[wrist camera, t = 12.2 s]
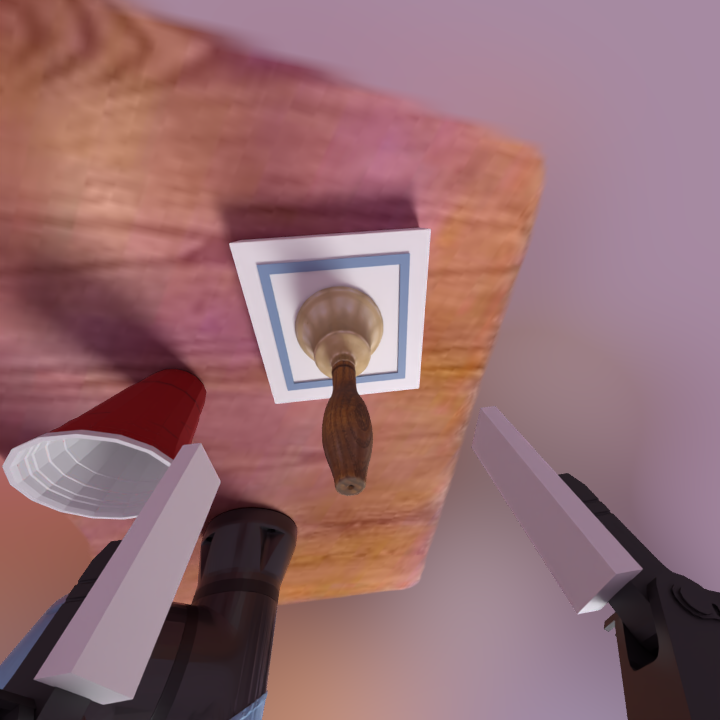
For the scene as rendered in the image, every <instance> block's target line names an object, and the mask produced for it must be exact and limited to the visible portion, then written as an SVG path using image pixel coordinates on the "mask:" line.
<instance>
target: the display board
mask: <svg viewBox="0 0 720 720" xmlns="http://www.w3.org/2000/svg"><path fill="white" fill-rule="evenodd" d="M430 234H431V229H427V228H406V229H392V230H378V231H363V232H349V233H335V234H320V235H306V236H292V237H277V238H263V239H249V240H239V241H236V242H232V243H229V245H230V248H231V252H232V255H233V259H234V262H235V266H236V269H237V273H238V276H239V280H240V283H241V286H242V290H243V293H244V297H245V300H246V304H247V307H248V311H249V314H250V318H251V321H252V325H253V328H254V332H255V335H256V338H257V342H258V345H259V349H260V352H261V356H262V359H263V363H264V366H265V370H266V373H267V377H268V380H269V383H270V387H271V390H272V394H273V397H274V401H275V404H279V403H288V402H298V401H307V400H316V399H325V398H330V397H331V395H332V392H333V384H332V378H329V377H327V376H326V375H324V374H323V373H322V372H321V371H320V370H319V369H318V367H317V366H316V364H315V361H313V360H312V359H311V358H309V357H308V356H307V355H306V354H305V353H304V351H303V350H302V348H301V347H300V345H299V343H298V341H297V337H296V332H295V322H296V317H297V314H298V312H299V310H300V308H301V306H302V305H303V304H304V302H305V301H306V300H307V299H308V298H309V297H310V296H312V295H313V294H314V293H316V292H318V291H320V290H322V289H326V288H329V287H335V286H344V287H350V288H354V289H357V290H359V291H361V292H363V293H364V294H366V295H367V296H369V297H370V298H371V299H372V300H373V301H374V302H375V304H376V305H377V306H378V308H379V310H380V312H381V315H382V319H383V335H382V339H381V342H380V344H379V346H378V347H377V349H376V350H375V352H374V353H373V354H372V355H371V358H370V362H369V364H368V366H367V367H366V369H365V370H364V371H363V372H362V373H361V374H360V375H358V376H356V388H357V392H358V394H359V395H362V394H371V393H380V392H389V391H398V390H407V389H417V388H419V382H420V368H421V355H422V341H423V328H424V315H425V301H426V288H427V275H428V261H429V248H430Z"/></svg>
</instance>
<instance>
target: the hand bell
mask: <svg viewBox="0 0 720 720" xmlns="http://www.w3.org/2000/svg"><path fill="white" fill-rule="evenodd" d="M295 332H296V337H297V341H298V343H299V345H300V347H301V348H302V350H303V351H304V353H305V354H306V355H307V356H308V357H309V358H311V359H312V360H313V361H315V364H316V366H317V367H318V369H319V370H320V371H321V372H322V373H323V374H324V375H326V376H327V377H329V378H332V384H333V392H332V395H331V397H330V399H329V401H328V404H327V406H326V409H325V413H324V417H323V424H322V442H323V448H324V452H325V456H326V459H327V462H328V464H329V467H330V469H331V472H332V475H333V478H334V483H335V488H336V490H337V492H338V493H340V494H342V495H346V496H350V495H357V494H359V493H360V492H362V491H363V490H364V488H365V486H366V476H367V470H368V465H369V461H370V458H371V453H372V444H373V433H372V425H371V420H370V416H369V413H368V410H367V407H366V405H365V403H364V401H363V400H362V398H361V397H360V395H359V394H358V392H357V388H356V376H358V375H360V374H361V373H362V372H363V371H364V370H365V369H366V367H367V366H368V364H369V362H370V358H371V355H372V354H373V353H374V352H375V350H376V349H377V347H378V346H379V344H380V342H381V339H382V335H383V319H382V315H381V312H380V310H379V308H378V306H377V305H376V304H375V302H374V301H373V300H372V299H371V298H370V297H369V296H367V295H366V294H364V293H363V292H361V291H359V290H357V289H354V288H350V287H344V286H335V287H329V288H326V289H322V290H320V291H318V292H316V293H314V294H313V295H312V296H310V297H309V298H308V299H307V300H306V301H305V302H304V304H303V305H302V306H301V308H300V310H299V312H298V314H297V317H296V322H295Z"/></svg>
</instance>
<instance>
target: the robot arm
mask: <svg viewBox="0 0 720 720" xmlns="http://www.w3.org/2000/svg"><path fill="white" fill-rule="evenodd" d="M472 449H473V451H474V452H475V454H476V455H477V457H478V459H479V460H480V462H481V463H482V465H483V467H484V468H485V470H486V471H487V473H488V474H489V476H490V478H491V479H492V481H493V482H494V484H495V485H496V487H497V488H498V490H499V492H500V493H501V495H502V496H503V498H504V500H505V501H506V503H507V504H508V506H509V507H510V509H511V511H512V512H513V514H514V515H515V517H516V518H517V520H518V522H519V523H520V525H521V526H522V528H523V529H524V531H525V533H526V534H527V536H528V537H529V539H530V540H531V542H532V543H533V545H534V547H535V548H536V550H537V552H538V553H539V555H540V556H541V558H542V559H543V561H544V563H545V564H546V566H547V567H548V569H549V570H550V572H551V574H552V575H553V577H554V578H555V580H556V581H557V583H558V584H559V586H560V588H561V589H562V591H563V593H564V594H565V596H566V597H567V599H568V600H569V602H570V603H571V605H572V607H573V608H574V610H575V611H576V613H577V614H581V613H586V612H591V611H597V610H600V609H601V608H602V607H603V606H605V605H606V604H607V603H608V602H609V604H610V605H611V606H612V608H613V609H614V610H615V613H614V614H613V615H612V616H610V617H609V618H608V619H607V620H606V621H605V625H604V630H606V631H608V632H609V631H610V630H611V629H613V628H614V627H615V629H616V634H615V636H616V637H617V643H618V651H619V658H620V665H621V673H622V679H623V687H624V695H625V702H626V709H627V717H628V720H720V593H719V592H714V591H709V590H706V589H704V588H702V587H701V586H700V585H699V584H697V583H695V582H693V581H692V580H690V579H688V578H686V577H685V576H682V575H679V574H676V573H673V572H672V571H670V570H669V569H668V568H666V567H665V566H664V565H663V564H662V563H661V562H660V561H659V560H658V559H657V558H656V557H655V556H654V555H653V554H652V553H651V552H650V551H649V550H648V549H647V548H646V547H645V546H644V545H643V544H642V543H641V542H640V541H639V540H638V539H637V538H636V537H635V536H634V535H633V534H632V533H631V532H630V531H629V530H628V529H627V528H626V527H625V526H624V525H623V523H621V521H620V520H619V519H618V518H617V517H616V516H615V515H614V514H611V513H610V510H609V509H608V508H607V507H606V506H605V505H604V504H603V503H602V502H600V501H599V500H598V498H597V497H596V496H595V495H594V494H593V493H592V492H591V491H590V490H589V489H588V487H587V486H585V484H583V483H582V482H580V481H579V480H577V479H576V478H574V477H573V476H571V475H570V474H568V473H566V474H560V475H557V473H556V472H555V471H554V470H553V469H552V468H551V467H550V466H549V465H548V464H547V463H546V461H545V460H544V459H543V458H542V457H541V456H540V455H539V454H538V452H537V451H536V450H535V449H534V448H533V447H532V446H531V445H530V444H529V443H528V442H527V440H526V439H525V438H524V437H523V436H522V435H521V434H520V433H519V432H518V430H516V428H515V427H514V426H513V425H512V424H511V423H510V422H509V420H508V419H507V418H506V417H505V416H504V415H503V414H502V413H501V412H500V410H499V409H498V408H497V407H496V406H492V407H484V408H480V412H479V417H478V421H477V425H476V430H475V434H474V439H473V443H472ZM220 483H221V481H220V479H219V477H218V475H217V473H216V471H215V469H214V467H213V465H212V464H211V462H210V460H209V458H208V456H207V454H206V452H205V450H204V448H203V446H202V444H201V443H196V444H188V445H183V446H182V447H181V449H180V451H179V452H178V454H177V455H176V457H175V458H174V460H173V462H172V463H171V465H170V466H169V468H168V469H167V471H166V473H165V474H164V476H163V477H162V479H161V480H160V482H159V484H158V485H157V487H156V488H155V490H154V491H153V493H152V494H151V496H150V498H149V499H148V501H147V502H146V504H145V505H144V507H143V509H142V510H141V512H140V513H139V515H138V516H137V518H136V520H135V521H134V523H133V524H132V526H131V527H130V529H129V531H128V532H127V534H126V535H125V537H124V538H123V540H118V541H112V542H110V543H109V544H108V545H107V546H106V547H105V548H104V549H103V550H102V551H101V552H100V553H99V554H98V555H97V556H96V557H95V558H94V559H93V560H92V562H91V563H90V564H89V566H88V568H87V569H86V570H85V572H84V573H83V575H82V576H81V578H80V579H79V580H78V584H77V585H75V586H74V588H73V589H72V591H71V592H70V593H69V594H67V595H65V596H63V597H62V598H61V599H59V600H57V601H56V602H55V603H54V604H53V605H52V606H51V607H50V608H49V609H48V610H47V611H46V612H45V613H44V614H43V616H42V617H41V618H40V619H39V620H38V622H37V623H36V624H35V625H34V626H33V627H32V628H31V630H30V631H29V632H28V633H27V634H26V636H25V637H24V638H23V639H22V640H21V641H20V643H19V644H18V645H17V646H16V648H14V650H13V651H12V652H11V653H10V654H9V655H8V657H7V658H6V659H5V660H4V662H3V663H2V664H1V665H0V720H262V716H263V710H264V705H265V699H266V697H267V682H268V675H269V667H270V659H271V651H272V644H273V636H274V627H275V620H276V613H277V604H278V597H279V590H280V586H281V583H282V581H283V578H284V575H285V573H286V570H287V568H288V565H289V563H290V560H291V558H292V555H293V552H294V550H295V546H296V539H297V527H296V525H295V523H294V522H293V521H292V520H291V519H290V518H288V517H287V516H285V515H283V514H281V513H278V512H276V511H272V510H267V509H260V508H244V509H237V510H232V511H229V512H226V513H223V514H221V515H219V516H217V517H215V518H214V519H213V520H212V521H211V522H210V523H209V524H208V526H207V529H206V531H205V534H204V536H203V539H202V542H201V551H200V563H199V575H198V586H197V589H196V592H195V595H194V598H193V601H192V604H191V605H189V604H184V603H177V602H172V601H173V599H174V596H175V594H176V591H177V589H178V587H179V584H180V582H181V579H182V577H183V574H184V572H185V569H186V567H187V564H188V562H189V559H190V557H191V554H192V552H193V549H194V547H195V544H196V542H197V540H198V537H199V535H200V532H201V530H202V527H203V525H204V522H205V520H206V517H207V515H208V512H209V510H210V507H211V505H212V502H213V500H214V498H215V495H216V493H217V490H218V488H219V485H220Z"/></svg>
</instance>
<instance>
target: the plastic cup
mask: <svg viewBox="0 0 720 720" xmlns="http://www.w3.org/2000/svg"><path fill="white" fill-rule="evenodd" d="M205 397H206V390H205V388H204V385H203V384H202V383H201V381H200V380H199V379H198V378H197V377H195V376H194V375H192V374H190V373H188V372H186V371H182V370H178V369H165V370H162V371H159V372H157V373H155V374H152V375H150V376H149V377H147V378H145V379H144V380H142V381H140V382H139V383H137V384H134V385H132V386H130V387H128V388H126V389H125V390H123V391H121V392H120V393H118V394H116V395H115V396H113V397H111V398H110V399H108V400H106V401H105V402H103V403H101V404H99V405H98V406H96V407H94V408H93V409H91V410H89V411H88V412H86V413H84V414H83V415H81V416H79V417H78V418H75V419H73V420H71V421H69V422H67V423H66V424H64V425H62V426H61V427H59V428H57V429H55V430H52V431H51V432H49V433H45V434H43V435H41V436H38V437H36V438H34V439H32V440H29V441H27V442H25V443H23V444H20V445H19V446H17V447H15V448H13V449H11V451H10V453H9V455H8V457H7V458H6V460H5V462H4V464H3V466H2V467H3V469H4V472H5V474H6V476H7V478H8V481H9V483H10V485H11V486H13V487H14V488H16V489H17V490H18V491H20V492H21V493H22V494H24V495H25V496H26V497H28V498H29V499H30V500H32V501H34V502H37V503H40V504H42V505H44V506H47V507H49V508H52V509H55V510H57V511H60V512H64V513H69V514H74V515H79V516H84V517H89V518H100V519H130V518H137V516H138V515H139V513H140V512H141V510H142V509H143V507H144V505H145V504H146V502H147V501H148V499H149V498H150V496H151V494H152V493H153V491H154V490H155V488H156V487H157V485H158V484H159V482H160V480H161V479H162V477H163V476H164V474H165V473H166V471H167V469H168V468H169V466H170V465H171V463H172V462H173V460H174V458H175V457H176V455H177V454H178V452H179V451H180V449H181V447H182V446H183V445H188V444H191V442H192V439H193V436H194V433H195V431H196V428H197V425H198V422H199V416H200V414H201V411H202V409H203V406H204V403H205Z"/></svg>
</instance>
